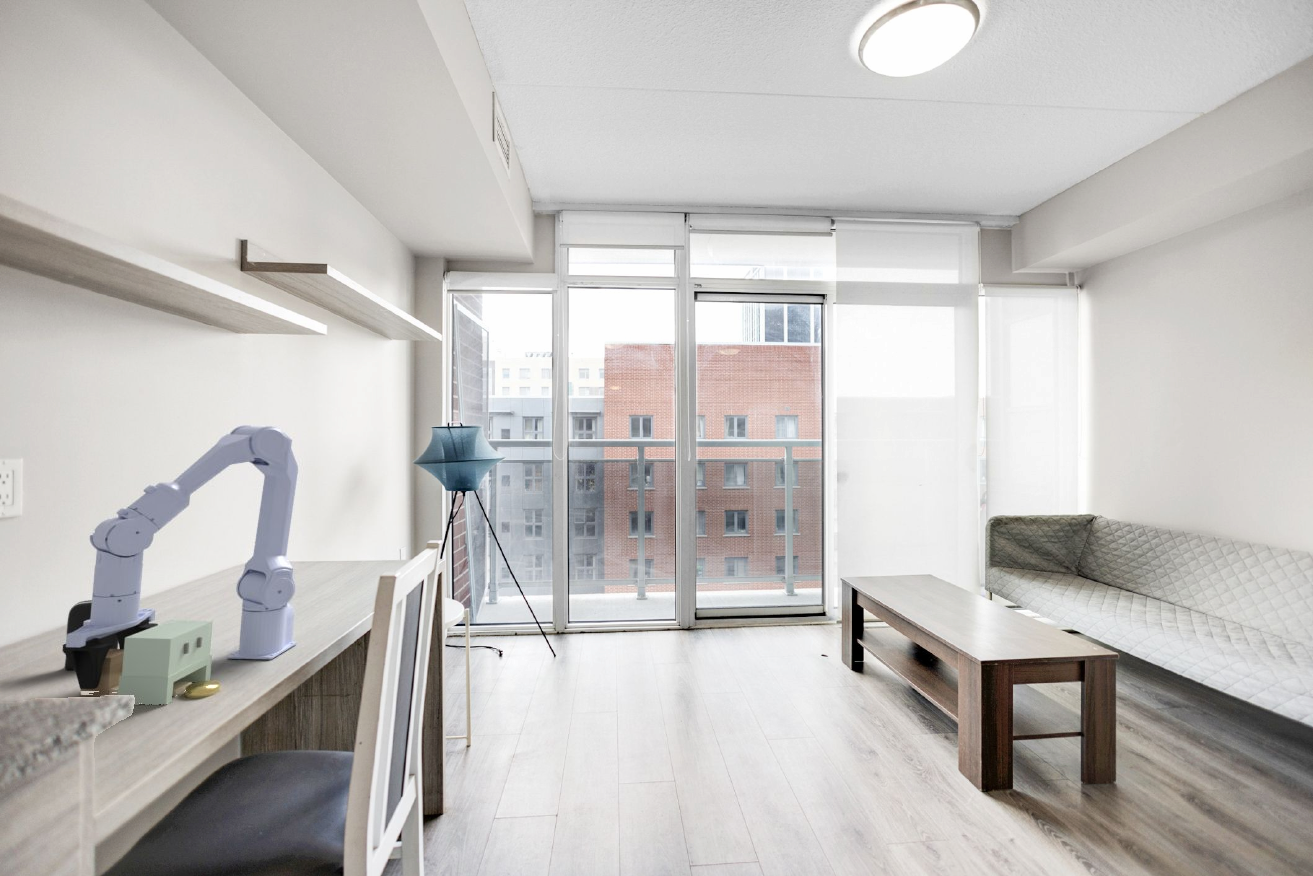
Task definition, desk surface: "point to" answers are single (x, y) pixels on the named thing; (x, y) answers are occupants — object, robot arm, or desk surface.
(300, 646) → the desk surface
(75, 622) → the battery charger
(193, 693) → the disc
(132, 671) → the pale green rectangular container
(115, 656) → the wooden rectangular block
